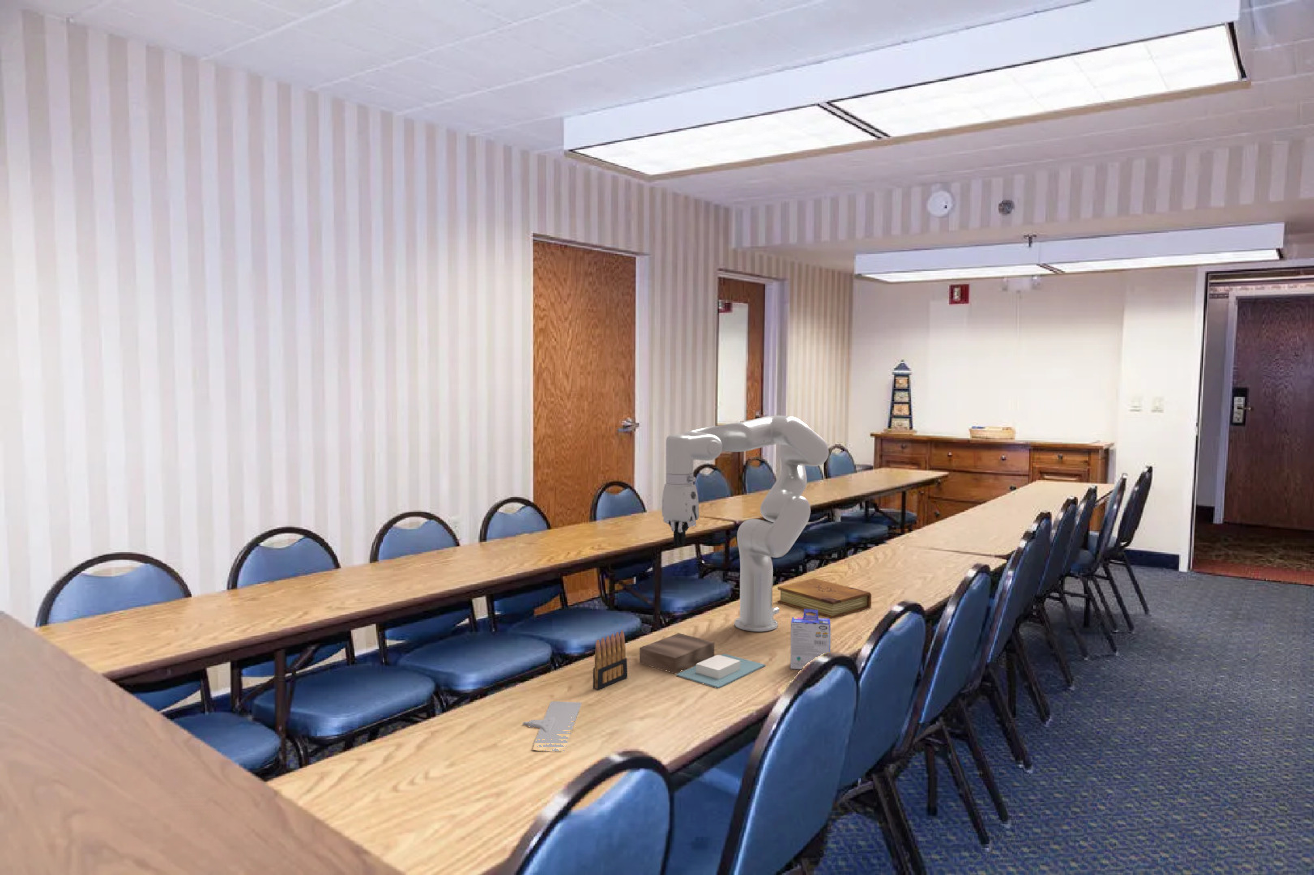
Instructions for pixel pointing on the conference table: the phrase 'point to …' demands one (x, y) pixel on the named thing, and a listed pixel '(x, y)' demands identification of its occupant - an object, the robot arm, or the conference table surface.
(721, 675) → the white rectangular block
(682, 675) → the mat
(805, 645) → the ink cartridge box
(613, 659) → the ammunition clip
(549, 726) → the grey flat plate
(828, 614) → the diary
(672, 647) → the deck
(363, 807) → the conference table surface
